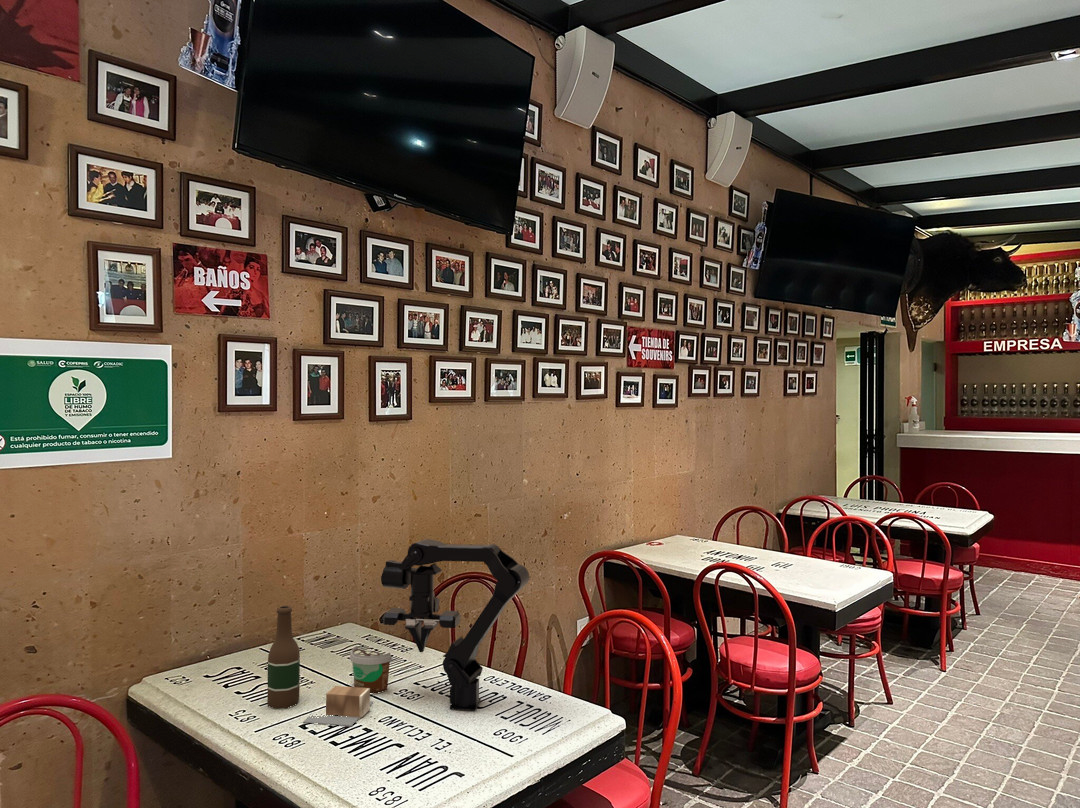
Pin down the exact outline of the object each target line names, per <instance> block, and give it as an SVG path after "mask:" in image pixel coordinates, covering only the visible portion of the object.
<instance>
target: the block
mask: <svg viewBox="0 0 1080 808" xmlns="http://www.w3.org/2000/svg"><path fill="white" fill-rule="evenodd" d="M325 696H326V698H325V701H326V715H338V716H349V717H360V718H363V717H364V716H365V715H366V714H367V713H368V712H369V710H370V709H371V706H370V701H371V694H370V688H358V687H354V686H342V685H341V686H339V685H335V686H334V687H332V688H331V689H330V690H329V691H328V692H326V694H325Z"/></svg>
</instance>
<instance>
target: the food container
mask: <svg viewBox="0 0 1080 808" xmlns="http://www.w3.org/2000/svg"><path fill="white" fill-rule="evenodd" d="M349 655H350V656H349V661H350V662H352V674H353V687H358V688H370V693H376V694H379V693H378V692H381V693H383V692H382V691H384V692H385V690H386V691H388V687H389V686H388V685H389V674H390V665H391V663H390V662H391V661H393V659H392V658H393V657H392V654H391V652H387V653H379V652H378V651H374V650H363V649H359V646H358V645H355V646H354V647H353V648H351V651H350V654H349Z"/></svg>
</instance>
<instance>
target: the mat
mask: <svg viewBox="0 0 1080 808" xmlns="http://www.w3.org/2000/svg"><path fill="white" fill-rule="evenodd" d="M373 702H374V703H375V701H374V700H370V707H371V706H372V705H373V704H374V703H373ZM316 715H317V714H316ZM321 715H322V714H321ZM324 716H325V715H323V716H322V717H321V716H317V717H319V718H317V717H316V716H313V715H312V716H311V717H310V715H309V716H307V718H306V719H304V720H302V723H303V724H307V723H318V724H317V725H321V724H330V725H329V726H334V725H340V726H339V727H350V728H351V727H353V726H354V725H355V724H356V723H357V722H358V720H359V719H361V717H349V716H347V717H346V716H342V717H341V716H340V717H339V716H334V715H333V716H332V715H331V716H330V715H328V716H327V715H326V716H327V717H326V716H325V717H324ZM312 717H313V718H312ZM315 717H316V718H315ZM356 721H357V722H356ZM355 722H356V723H355ZM354 723H355V724H354ZM353 724H354V725H353Z"/></svg>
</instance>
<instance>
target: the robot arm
mask: <svg viewBox="0 0 1080 808" xmlns="http://www.w3.org/2000/svg"><path fill="white" fill-rule="evenodd" d="M441 562H473V563H474V562H477V563H478V562H481V563H484V564H485V565H486V566H487V569H488V570H489V571H490V573H491V576H492V577H493V578H494V579H495V580H496V583H495V585H494V590H493V593H492V596H491V598H490V599H489V601H488V603H486V605H485V607H484V608H483V610H482V611H481V612H480V614H479V616H478V617H477V618H476V619H475V622H474V623H473V624H472V626H471V628H470V629H469V631H468V632H467V633H466V635H465V637H464V638H463V636H460V637H459V638H457V639H456V640H454V641H453V642H452V643H451V644H450V645H449V648H448V650H447V652H446V653H445V654H443V655H442V657H443V661H442V664H441V665H442V667H443V670H444V671H443V672H444V673H445V674H446V676H447V678H448V682H449V685H450V687H449V704H450V706H449V710H456V711H457V710H459V711H473V712H475V711H476V710H477V709H478V707H479V705H480V703H481V702H482V700H481V698H480V678H479V677H480V676H481V675H482V672H483V669H484V668H483V666H482V665H481V664H480V663H479V662H478V661H477V659H476V657H477V656H478V653H479V648H480V645H481V644H482V642H483V640H484V639H485V637H486V636H487V634H488V633H489V631H490V630H491V628H492V627H493V625H494V624H495V622H496V621H497V619H498V618H499V617H500V615H501V614H502V613H503V611H504V609H505V608H506V606H507V604H509V602H510V601H511V600H512V599H513V598H514V597H515V596H516V595H517V594H518V593H519V592H521V590H522V589H523V588H524V587H525V586H526V585H527V584H528V582H529V581H530V573H529V571H528V569H527V567H525V565H524V566H523V564H520V563H519V562H518V561H516V560H515V559H514V558H513V557H512V556H510V555H509V554H507V553H506V552H504V551H503V550H502V549H501V547H500V546H498V545H497V544H495V543H490V544H456V543H455V544H452V543H451V544H450V543H449V544H448V543H444V542H441V541H440V540H435V539H429V538H424V539H421V540H419V541H416V542H414V543H411V545H410V546H409V547H408V549H407V554H406V556H405V557H404V559H402V561H397V560H393V559H392V560H391V559H390V560H386V561H385V566H384V567H383V570H382V573H381V576H380V581H381V584H382V586H383V587H384V588H389V589H390V588H393V589H405V590H406V589H407V588H408V587H409V586H410V595H409V596H408V597H409V598H408V599H409V602H410V611H409V612H406V610H405V608H398V607H396V608H395V607H391V608H390V609H388V610H387V611H386V612H385V613H384V614H383V617H382V621H383V622H382V625H384V626H385V625H386V626H395V625H396V624H397V623H398V622H399V621H403V622H404V621H405V623H406V624H405V625H404V629H405V630H408V632H409V633H410V635H411V637H412V639H413V641H414V643H415V645H416V647H417V650H418V651H419V653H423V652H424V651H425V648H426V645H427V642H428V640H429V637H430V635H431V632H432V631H434V629H435V628H436V627H437V626H438V625H439V626H440V627H441V628H442V629H443V628H444V629H454V628H456V627H457V626H458V625H459V624H460V623H461V614H460V612H459V611H457V610H444V611H443V612H442V613H441V614H435V613H436V612H439V611H440V610H439V608H440V598H437V597H436V595H435V591H434V579H435V578H434V576H435V575H437V574H440V573H442V571H443V570H442V568H441V567H439V566H438V565H437V563H441ZM415 566H416V567H415ZM423 624H424V625H423Z"/></svg>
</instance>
